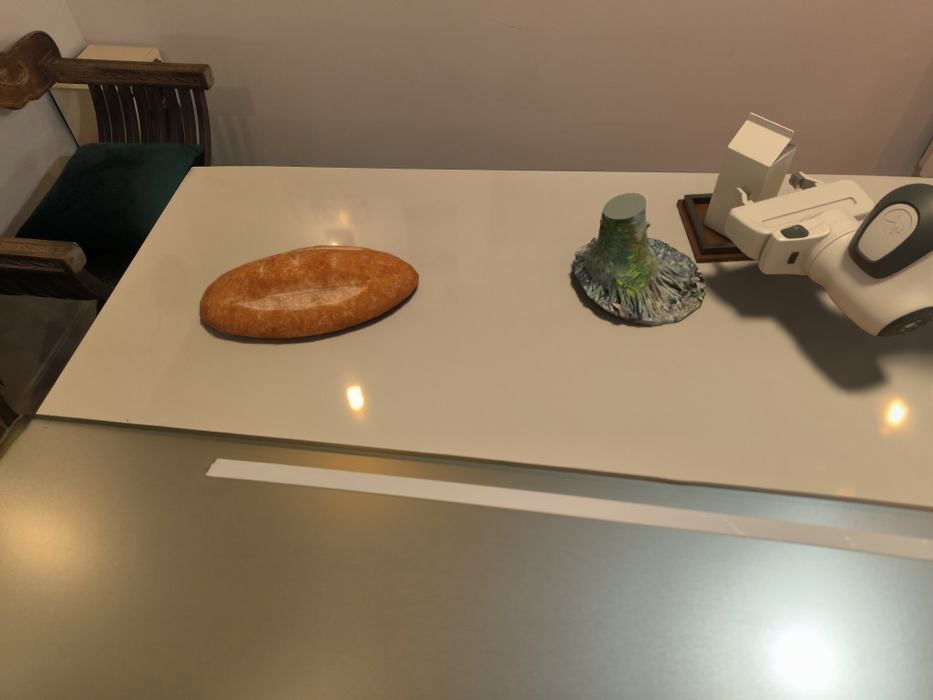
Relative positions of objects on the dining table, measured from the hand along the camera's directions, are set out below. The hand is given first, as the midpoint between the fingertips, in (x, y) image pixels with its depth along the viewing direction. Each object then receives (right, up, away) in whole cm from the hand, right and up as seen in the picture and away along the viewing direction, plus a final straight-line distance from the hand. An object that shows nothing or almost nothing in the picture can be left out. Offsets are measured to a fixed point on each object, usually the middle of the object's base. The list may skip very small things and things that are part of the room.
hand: (766, 183), depth 91 cm
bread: (-70, -17, +8) cm, 72 cm away
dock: (0, -5, +11) cm, 12 cm away
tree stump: (-18, -15, +5) cm, 24 cm away
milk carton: (0, -4, +11) cm, 12 cm away
